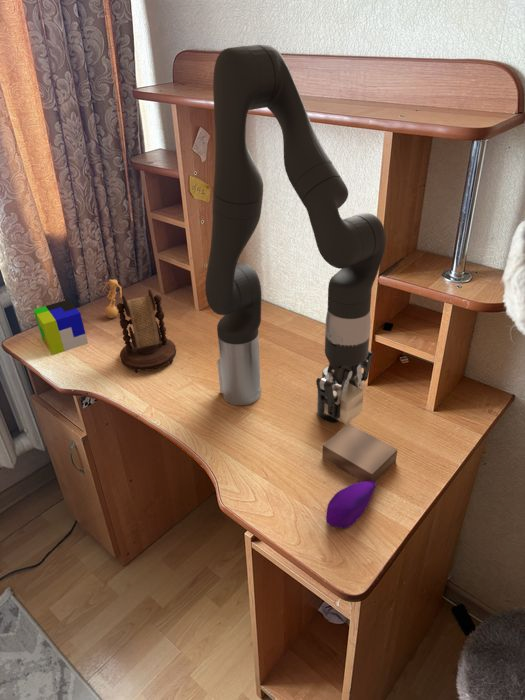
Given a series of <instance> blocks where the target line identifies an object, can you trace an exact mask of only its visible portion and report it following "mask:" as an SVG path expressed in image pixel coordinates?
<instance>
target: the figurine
mask: <svg viewBox="0 0 525 700" xmlns="http://www.w3.org/2000/svg"><path fill="white" fill-rule="evenodd" d="M108 285H109V291H108V294H107V296H106V298H107V299H108V300H109V301H110V303H109V304H108V305H107V306H106V307H105V310H104V313H105V316H106V317H107V318H109V319H115V318H116V317H117V316H118V315H119V313H118V311H119V310H117V305H115V304H116V300H117V299H115V298H116V295H117V293H118V292H117V291H116V289H117V287H118V289H119V296H118V297H119V298H120V299H122V296H123V294H122V291H123V290H122V289H123V288H122V286H121V285H120V284H119V283H118V280H117V279H109V280H108V282H106V284H105V285H104V286H103V289H102V291H104V290H105V289H106V288H107V287H108Z"/></svg>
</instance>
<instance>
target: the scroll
mask: <svg viewBox="0 0 525 700" xmlns="http://www.w3.org/2000/svg"><path fill="white" fill-rule="evenodd" d="M147 292H148V294H147V296H142V297H138V298H132V299H128V300H127V299H126V296H125V294H122V303H121V302H119V303H117V304H116V307H117V310H118V314H119V325H120V328H121V329H122V335H123V337H122V339H123V341H124V344H125V345H124V346H123V347H122V349H121V350H120V353H119V357H120V362H121V364H122V365H123V366H124V367H125V368H128V369H130V370H133V372H134V373H135V374H137V373H138V371H151V370H156V369H159V368H161V367H163V366H166V365H168V364H172V363H173V359H174V358H175V357H176V354H177V347H176V345H175V343H174V341H172V340H171V339H169V338H168V337H167V336H166V335H167V333H166V331H167V327H166V326H165V324H166V323H165V322H164V319H165V314H164V311H163V306H162V296H161V295H159V294H155V295H154V294H153V293H154V292H153V291H152V290H151V289H150V288H149V289H148V291H147ZM155 311H156V312H155ZM125 314H126V315H125ZM126 317H128V318H130V319H127V318H126ZM157 320H158V321H157ZM129 325H130V326H129ZM131 325H132V326H131ZM128 326H129V327H128Z"/></svg>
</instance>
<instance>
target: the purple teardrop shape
mask: <svg viewBox="0 0 525 700" xmlns="http://www.w3.org/2000/svg"><path fill="white" fill-rule="evenodd" d="M376 486H377V482H375V481H364V482H361V481H359V482H356V483H353V484H351V485H349V486H347V487H344V488H342V489H340V490H338V491H337V492H336V493H335V494H334V495H333V496H332V497H331V499H330V500H329V502H328V504H327V507H326V517H325V519H326V520H325V521H326V524H328V525H329V526H331V527H332V528H333V527H334V528H340V529H348V528H350V527H352V526H353V525H354V524H355V523H356V522H357V521H358V520H359V519H360V518H361V517H362V515H363V514H364V513H365V510H366V509H367V507H368V505H369V503H370V501H371V499H372V497H373V494H374V492H375V489H376Z"/></svg>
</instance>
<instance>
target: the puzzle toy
mask: <svg viewBox="0 0 525 700" xmlns="http://www.w3.org/2000/svg"><path fill="white" fill-rule="evenodd" d="M33 312H34V316H35V319H36V323H37V326H38V330H39V332H40V336H41V338H42V341H43V344H45V346H46V347H47V349H48V351H49V352H50V353H51V355H52V356H55V355H57V354H61V353H63V352H67V351H69V350H72V349H75V348H79V347H81V346H82V347H83V346H85V345H88V343H89V342H88V338H87V333H86V331H85V326H84V322H83V318H82V314H81V312H80V310H79V309H78V308H77V307H76V306H75V305H74V303H72V301H71V300H70V299H69V298H68V299H65V300H62V301H61V300H60V301H58V302H55V303H52V304H48V305H45V306H41V307H38V308H34V309H33Z"/></svg>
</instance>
